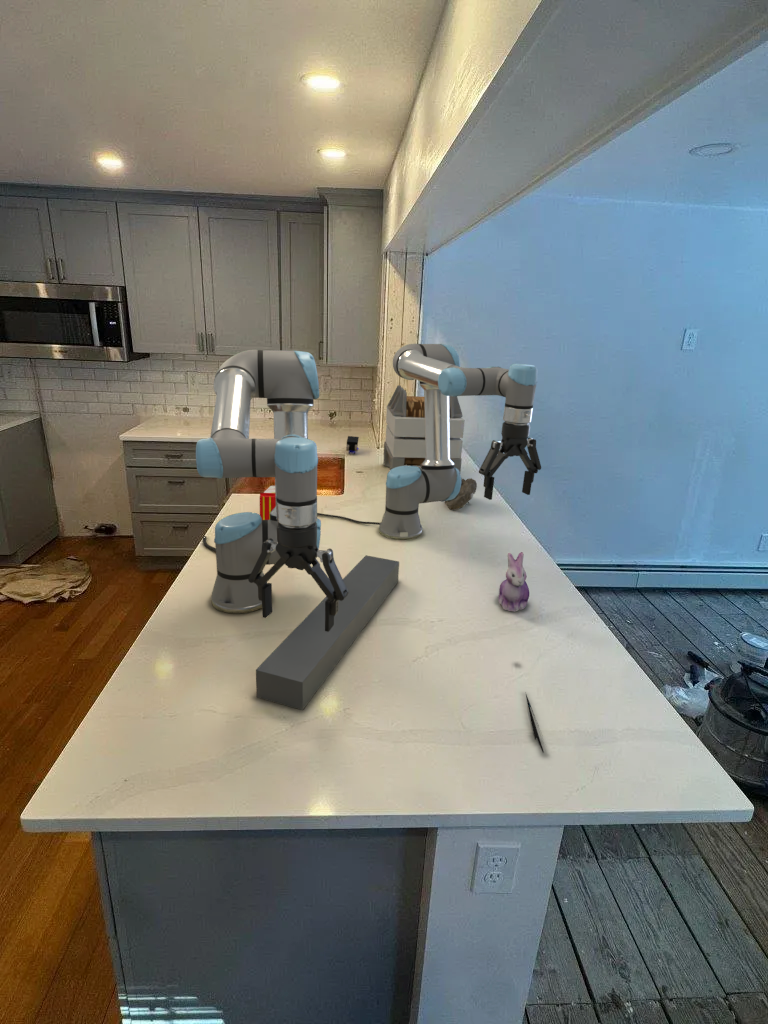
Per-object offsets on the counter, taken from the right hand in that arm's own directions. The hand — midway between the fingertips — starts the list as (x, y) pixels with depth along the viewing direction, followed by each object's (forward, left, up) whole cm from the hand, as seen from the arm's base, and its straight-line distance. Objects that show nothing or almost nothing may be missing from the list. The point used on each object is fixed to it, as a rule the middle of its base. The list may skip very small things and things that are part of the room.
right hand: (507, 495), depth 163 cm
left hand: (+8, -76, -10) cm, 77 cm away
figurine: (+14, -11, -26) cm, 31 cm away
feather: (+42, -43, -26) cm, 65 cm away
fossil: (-53, +41, -26) cm, 72 cm away
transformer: (-95, +59, -26) cm, 114 cm away
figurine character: (-145, +56, -26) cm, 158 cm away
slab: (-4, -56, -26) cm, 62 cm away
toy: (-79, -29, -26) cm, 88 cm away
